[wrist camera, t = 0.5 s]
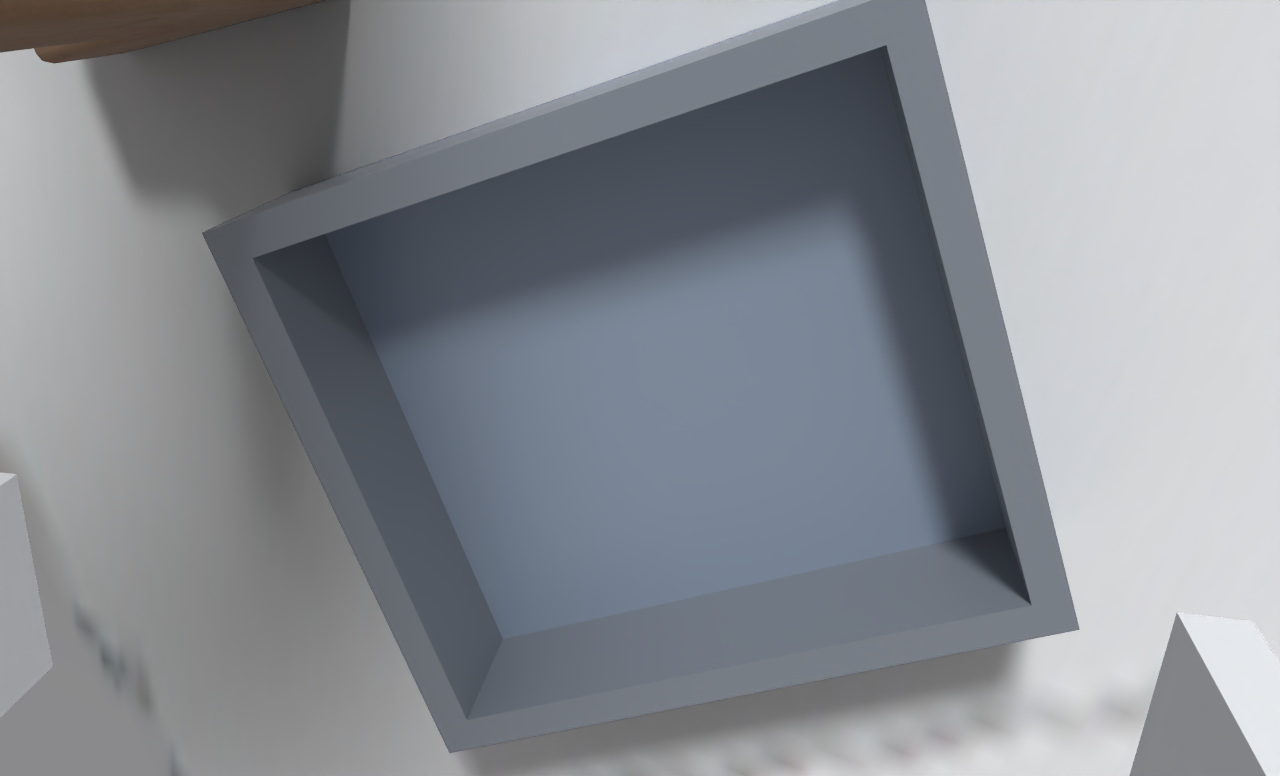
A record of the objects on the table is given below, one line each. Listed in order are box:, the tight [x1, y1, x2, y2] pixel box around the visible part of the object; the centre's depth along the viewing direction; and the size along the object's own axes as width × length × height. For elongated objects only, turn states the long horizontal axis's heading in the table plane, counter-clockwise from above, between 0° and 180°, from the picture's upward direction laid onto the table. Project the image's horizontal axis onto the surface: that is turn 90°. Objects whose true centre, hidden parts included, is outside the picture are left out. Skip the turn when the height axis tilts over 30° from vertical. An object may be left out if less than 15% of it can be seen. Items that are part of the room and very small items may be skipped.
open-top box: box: [202, 0, 1079, 753], centre depth 37 cm, size 20×22×6 cm
